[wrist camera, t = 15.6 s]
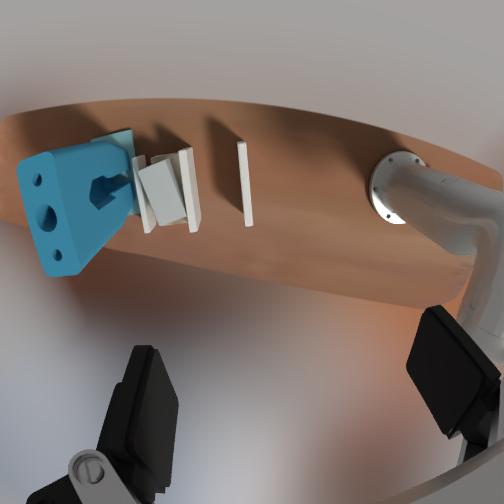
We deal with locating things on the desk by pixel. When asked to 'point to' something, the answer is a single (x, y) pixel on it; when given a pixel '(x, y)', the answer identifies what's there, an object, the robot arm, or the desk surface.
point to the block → (74, 202)
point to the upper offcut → (163, 191)
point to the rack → (191, 189)
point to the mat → (127, 143)
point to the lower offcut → (176, 165)
